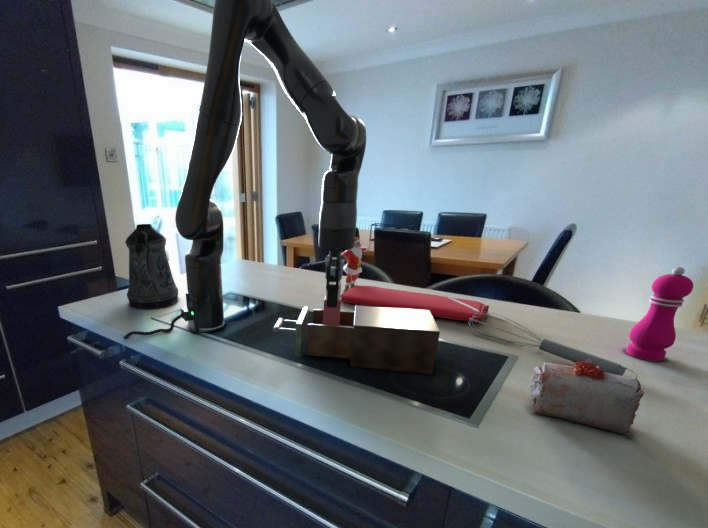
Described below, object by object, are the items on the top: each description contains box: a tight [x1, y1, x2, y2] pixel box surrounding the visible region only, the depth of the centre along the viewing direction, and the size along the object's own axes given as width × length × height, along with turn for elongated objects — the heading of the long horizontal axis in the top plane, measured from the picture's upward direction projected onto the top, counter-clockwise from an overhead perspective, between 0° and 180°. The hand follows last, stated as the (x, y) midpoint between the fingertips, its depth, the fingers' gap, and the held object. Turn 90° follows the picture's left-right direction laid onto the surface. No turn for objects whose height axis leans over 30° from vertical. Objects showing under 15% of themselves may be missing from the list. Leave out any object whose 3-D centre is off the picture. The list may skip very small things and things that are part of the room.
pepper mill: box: [625, 266, 694, 362], centre depth 83 cm, size 7×7×20 cm
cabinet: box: [349, 305, 441, 375], centre depth 86 cm, size 17×14×10 cm
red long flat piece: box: [340, 285, 490, 323], centre depth 120 cm, size 16×41×4 cm, turn 54°
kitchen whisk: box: [468, 311, 638, 380], centre depth 88 cm, size 6×34×6 cm, turn 34°
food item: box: [529, 359, 645, 436], centre depth 64 cm, size 14×8×10 cm, turn 57°
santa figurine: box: [342, 236, 370, 292], centre depth 136 cm, size 25×6×19 cm, turn 140°
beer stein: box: [124, 223, 179, 310], centre depth 124 cm, size 16×19×25 cm
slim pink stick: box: [323, 281, 342, 326], centre depth 88 cm, size 4×3×15 cm
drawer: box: [272, 306, 355, 360], centre depth 90 cm, size 21×12×8 cm, turn 76°
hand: (332, 304), depth 87 cm, fingers closed on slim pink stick, 3 cm apart
